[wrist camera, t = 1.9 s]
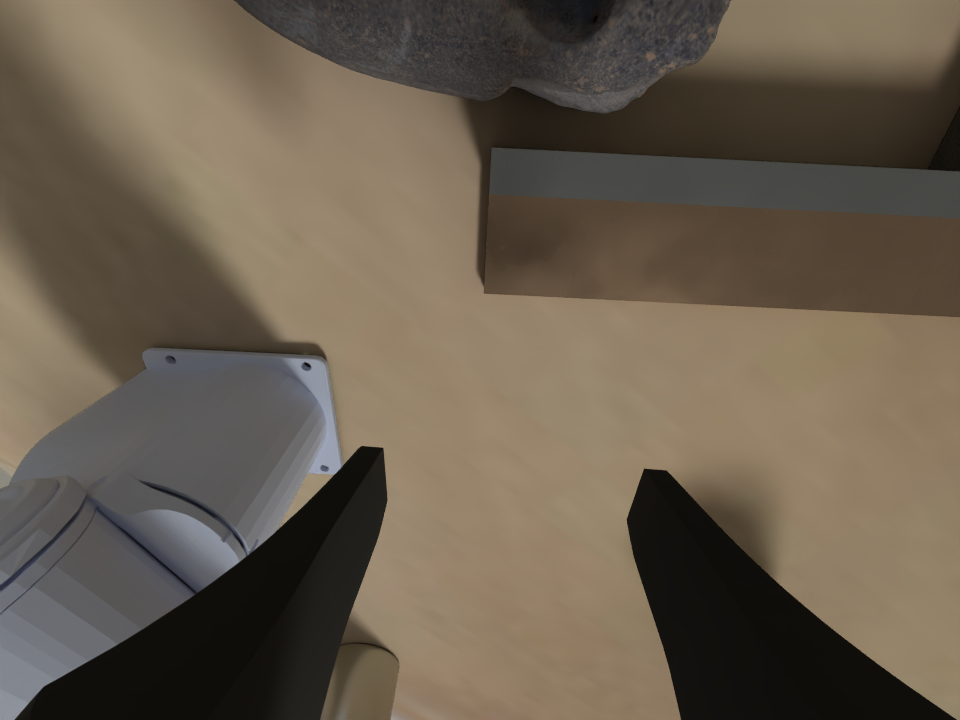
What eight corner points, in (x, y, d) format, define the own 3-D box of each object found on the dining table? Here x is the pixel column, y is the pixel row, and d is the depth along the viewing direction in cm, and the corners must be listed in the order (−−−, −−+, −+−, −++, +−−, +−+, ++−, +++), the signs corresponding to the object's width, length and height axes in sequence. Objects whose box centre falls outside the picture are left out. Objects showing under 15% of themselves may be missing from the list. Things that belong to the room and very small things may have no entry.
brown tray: (483, 287, 19) (483, 311, 17) (524, -497, 10) (537, -728, 7) (1001, 313, 20) (1081, 340, 17) (1529, -439, 10) (1900, -645, 7)
